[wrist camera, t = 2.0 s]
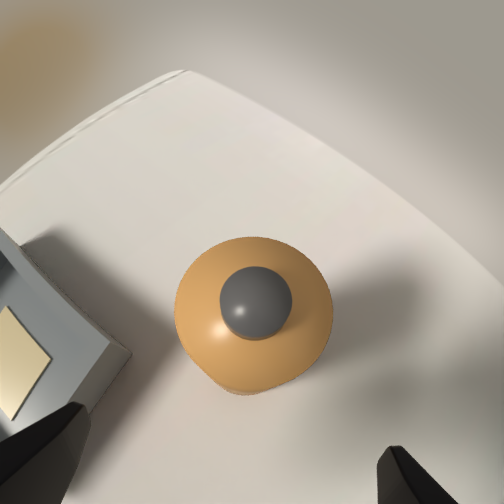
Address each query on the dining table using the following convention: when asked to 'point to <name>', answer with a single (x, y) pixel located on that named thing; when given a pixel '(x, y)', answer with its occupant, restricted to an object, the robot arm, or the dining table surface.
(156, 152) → the dining table surface
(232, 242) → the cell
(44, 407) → the gray square tray
